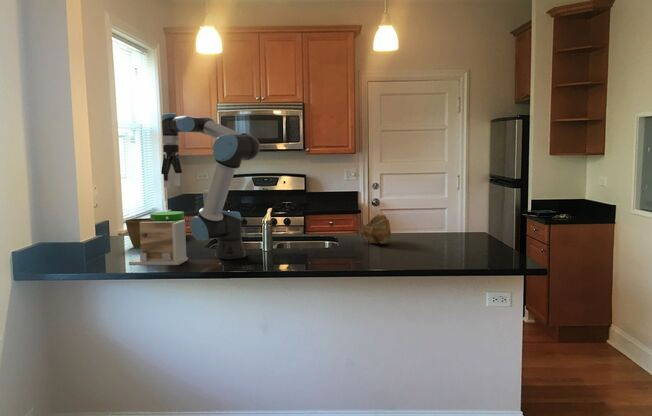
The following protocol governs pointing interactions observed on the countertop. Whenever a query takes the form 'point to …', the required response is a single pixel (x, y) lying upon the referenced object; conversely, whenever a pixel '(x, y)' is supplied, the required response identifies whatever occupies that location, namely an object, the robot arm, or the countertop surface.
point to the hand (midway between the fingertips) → (172, 186)
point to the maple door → (156, 239)
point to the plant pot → (135, 230)
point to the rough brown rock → (377, 230)
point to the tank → (167, 216)
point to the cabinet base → (176, 247)
